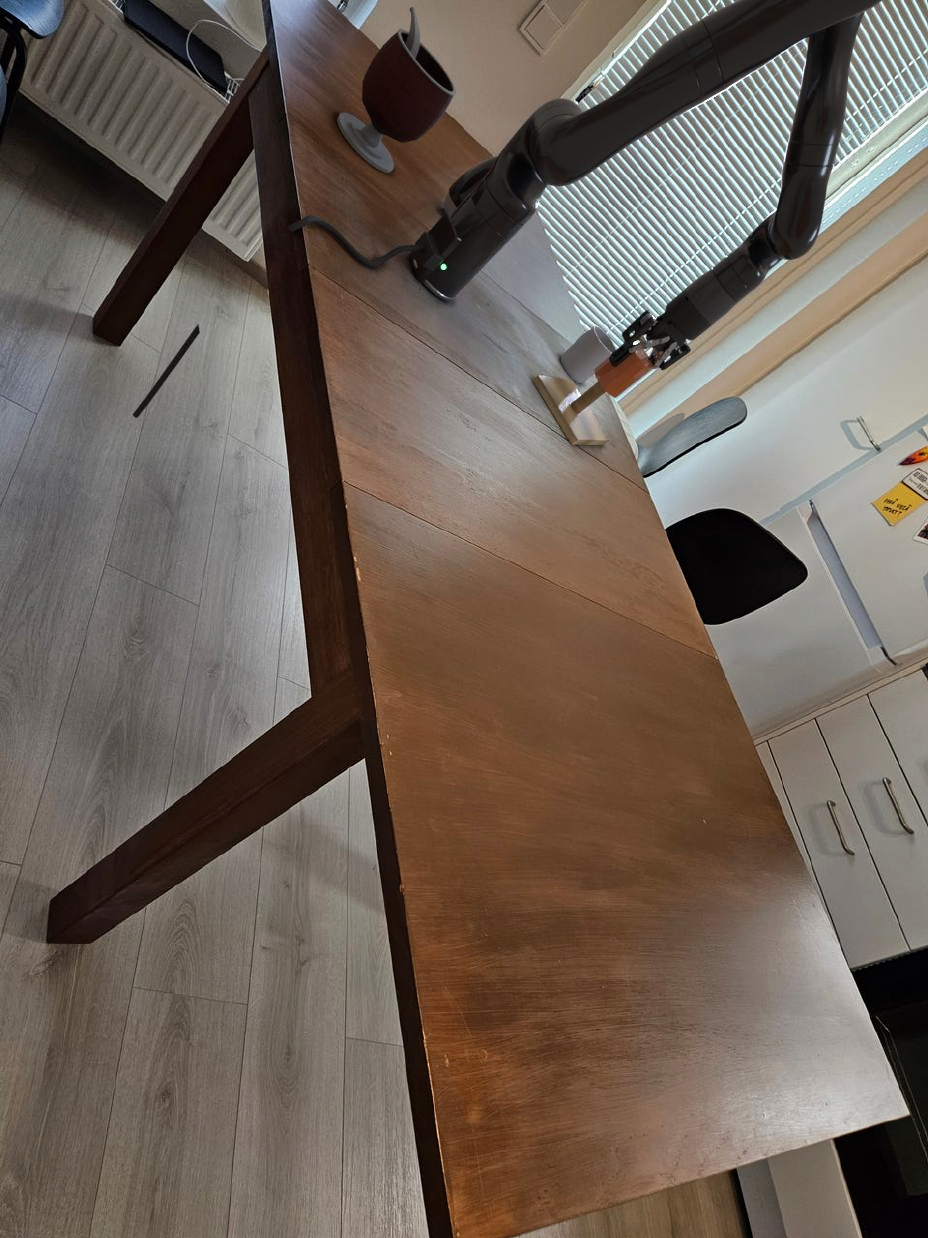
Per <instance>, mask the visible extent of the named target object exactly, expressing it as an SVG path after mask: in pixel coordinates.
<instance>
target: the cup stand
mask: <svg viewBox="0 0 928 1238" xmlns="http://www.w3.org/2000/svg"><path fill="white" fill-rule="evenodd" d="M532 382H533V383H534V385H535V387H536V388H537V390H538V392H539V393H540V396H541V397H542V398H543V400H544V402H545V403H546V405H547V407H548V409H549V410H550V412H551V413H552V415H553V417H554V418H555V420H556V421H557V423H558V425H559V426H560V428H561V430H562V431H563V433H564V435H565V436H566V438H567V440H568V441H569V443H570V445H571V446H573V445H575V446H578V445H579V446H604V445H605V444H606V443H608V442H610V439H609V438H608V436H607V435H606V433H605V432H604V430H603V428H602V427H601V425H600V423H599V422H598V420H597V419H596V417H595V415H594V413H593V412H592V410H591V409H590V407H589V406H591V405H593V403H594V402H596V401H597V400H598V399H599V398H601V397H602V396H603V395H604V394H605V393H607V392H606V391H605V390H604V389H603V387H602V386H601V385H600V383H599V382H598V381H596V382H595V383H594V384H593V385H592V386H590V387H589V388H588V389H587V390H585V391H584V392H583V393H582V394H581V392H580V391H579V389H578V387H577V386H576V385H575V382H574V380H573V379H565V378H561V377H554V376H547V375H541V374H538V375H537V376H536V377H534V378H533V379H532Z"/></svg>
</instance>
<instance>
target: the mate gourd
mask: <svg viewBox="0 0 928 1238" xmlns="http://www.w3.org/2000/svg"><path fill="white" fill-rule="evenodd" d="M409 13H410V26H409V31H408V30H406V29H404V28H398V30H397V32H395V33H394V34H393V35H391V36H390V37H389V38H388V39H387V40H386V42H385V43H384V44H383V45H382V46H381V47H380V48H379V50H378V51H377V52H376V54H375V55H374V57H373V58H372V60H371V62H370V64H369V66H368V68H367V70H366V71H365V74H364V76H363V79H362V86H361V87H362V88H361V101H362V104H363V106H364V108H365V111H366V113H367V115H368V117H369V119H370V122H371V123H369V124H367V125H366V124H365V123H364V122H363V121H361V120H360V119H359V118H358V117H356V116H354V115H352V114H351V113H348V112H344V111H343V112H340V114H339V115H338V116H337V119H336V122H337V125H338V128H339V130H340V132H341V134H342V135H343V137H344V138H345V140H346V141H347V142H348V143H349V145H350V146H351V147H352V149H353V150H355V151H356V153H357V154H358V155H359V156H360V157H361V158H362V159H364V160H365V161H366V162H367V163H368V164H369V165H370V166H372V167H373V168H375V169H376V170H378V171H380V172H382V173H386V174H389V173H391V172H393V170H394V168H395V162H394V160H393V156H392V155H391V152H389V150H388V148H387V147H386V146H385V144H384V143H383V141H382V139H383V136H386V137H388V138H390V139H392V140H395V141H397V142H399V143H403V144H405V143H409V142H414V141H415V142H416V141H418V140H419V139H421V138H422V137H424V136H425V135H426V134H428V132H430V130H431V129H433V128H434V127H435V126H436V124H437V123H438V122H439V121H440V119H441V118H442V117H443V116H444V115H445V112H446V111H447V109H448V108H449V106H450V104H451V102H452V100H453V98H454V96H456V94H457V89H456V86H455V84H454V82H453V80H452V78H451V77H450V75H449V73H447V71H446V69H445V68H444V67H443V65H442V64H441V63H440V62H439V60H438V59H437V58H436V56H434V54H433V53H432V52H431V51H430V50H429V48H427V47H426V46H425V44H423V43H422V41H421V31H420V30H421V29H420V25H419V21H418V17H417V12H416V9H415V7H414V6H411V7H410V8H409Z"/></svg>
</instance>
